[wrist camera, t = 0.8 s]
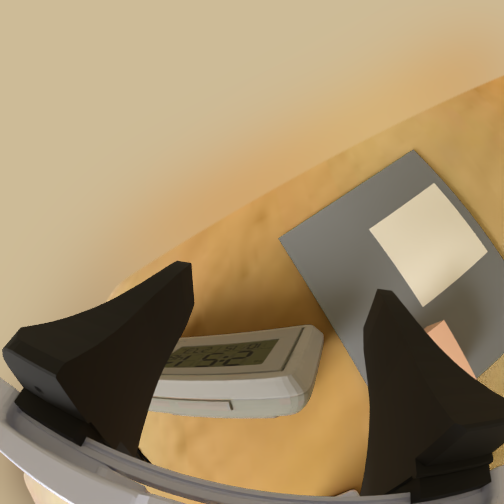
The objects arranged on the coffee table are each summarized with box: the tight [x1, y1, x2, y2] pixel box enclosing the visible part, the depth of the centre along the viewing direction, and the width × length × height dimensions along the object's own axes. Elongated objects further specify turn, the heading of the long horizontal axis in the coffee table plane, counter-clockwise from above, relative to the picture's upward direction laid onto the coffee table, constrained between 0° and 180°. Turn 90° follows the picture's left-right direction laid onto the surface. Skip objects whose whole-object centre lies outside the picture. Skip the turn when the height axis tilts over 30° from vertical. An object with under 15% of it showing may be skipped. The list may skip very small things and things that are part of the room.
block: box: [424, 320, 477, 380], centre depth 17 cm, size 5×5×5 cm
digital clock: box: [148, 325, 324, 418], centre depth 21 cm, size 16×9×11 cm, turn 84°
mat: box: [278, 150, 504, 386], centre depth 22 cm, size 20×16×1 cm
